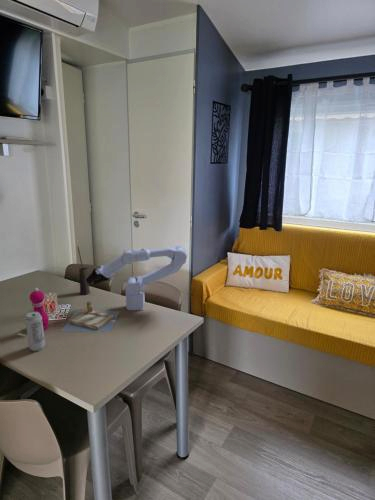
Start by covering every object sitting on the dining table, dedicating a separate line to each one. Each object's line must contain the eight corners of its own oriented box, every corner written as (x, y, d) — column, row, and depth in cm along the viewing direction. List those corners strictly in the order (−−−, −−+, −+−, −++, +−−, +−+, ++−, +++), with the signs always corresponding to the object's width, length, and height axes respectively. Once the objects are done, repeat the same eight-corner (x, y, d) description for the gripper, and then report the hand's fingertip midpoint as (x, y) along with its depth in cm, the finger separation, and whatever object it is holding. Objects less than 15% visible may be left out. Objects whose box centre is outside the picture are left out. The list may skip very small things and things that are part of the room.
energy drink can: (40, 342, 140) (36, 309, 136) (48, 347, 137) (44, 313, 133) (26, 348, 136) (21, 314, 132) (33, 353, 132) (29, 319, 128)
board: (119, 312, 167) (119, 311, 167) (110, 333, 148) (110, 331, 147) (75, 312, 167) (75, 310, 167) (60, 332, 148) (60, 331, 148)
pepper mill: (33, 334, 146) (27, 292, 141) (32, 327, 152) (26, 286, 147) (50, 331, 149) (45, 289, 144) (49, 324, 156) (44, 283, 150)
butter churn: (97, 289, 196) (93, 243, 188) (93, 296, 187) (89, 247, 179) (81, 289, 196) (77, 243, 188) (76, 296, 186) (72, 247, 179)
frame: (113, 317, 160) (113, 306, 158) (97, 329, 149) (97, 317, 147) (86, 311, 166) (85, 300, 164) (69, 322, 155) (68, 310, 153)
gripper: (114, 262, 172) (93, 276, 173) (103, 258, 158) (79, 273, 159) (121, 273, 171) (99, 288, 171) (110, 270, 157) (86, 286, 157)
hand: (90, 282), depth 165 cm, fingers open, 7 cm apart
